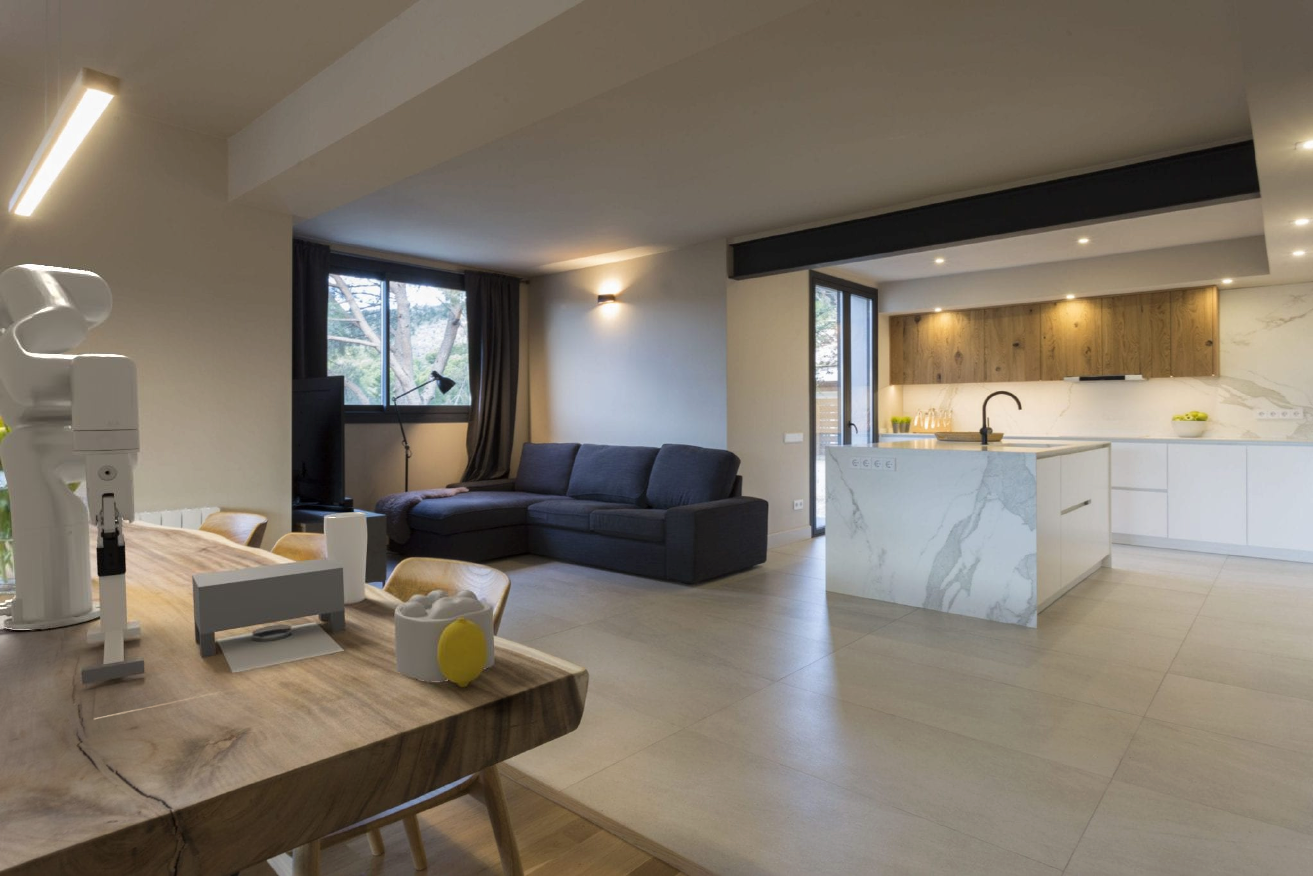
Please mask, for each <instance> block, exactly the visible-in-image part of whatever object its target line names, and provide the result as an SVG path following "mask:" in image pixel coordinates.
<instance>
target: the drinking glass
mask: <svg viewBox="0 0 1313 876" xmlns="http://www.w3.org/2000/svg"><path fill="white" fill-rule="evenodd" d="M367 523H368V522H367V514H366V512H361V511H359V512H357V511H355V512H340V513H333V514H327V515H324V516H323V534H324V536H323V537H324V546H325V547H324V548H325V554H326V555H325V556H326V558H328V559H330V560H331V561H333V562H335V563H336V564H338V565H340V566H341V567H343V583H344V605H351V604H358V603H360V602H362V601H364V600H365V599H366V568H367V567H366V566H367V552H368V551H367V548H368V546H367V545H368V524H367Z"/></svg>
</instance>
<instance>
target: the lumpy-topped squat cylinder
mask: <svg viewBox="0 0 1313 876" xmlns="http://www.w3.org/2000/svg"><path fill="white" fill-rule="evenodd" d="M393 616H394V617H393V618H394V638H395V639H394V641H395V645H394V646H395V670H396V671H397V673H399V672H400V673H399V674H401V673H402V674H401V675H403V674H404V675H403V676H405V675H406V676H405V677H407V676H409V677H408V678H410V677H412V678H411V679H413V678H416V679H420V680H424V681H445V680H447V678H446V677H445V676H444V675H443V674H442V672H441V670H440V668H439V665H438V659H437V649H438V643H439V639H440V637H441V634H442V632H443V631H444V630H445V628H446V627H447V626H449V625H450V624H451V623H453V622H455V621H457V620H458V618H465V619H466V620H468V621H471V622H473V623H475V624H476V625H478V626H479V627H480V628H481V630H482V631H483V633H484V636H485V640H486V644H487V661H486V664H485V667H484V668H487V667H490V666H491V665H493V664H494V662H495V659H496V658H495V637H494V635H495V634H494V629H495V628H494V609H493V606H492V605H491V604H490V603H488V602H486V601H482V600H479V599H478V596H477V594H475V593H474V592H473V591H472V590H471V589H464V590H461V591H459V592H458V593H456V594H454V596H449V594H448V593H447V592H445V591H444V590H443V589H442V590H441V589H435V590H432V591H430V592H429V593H428V594H427V595H423V594H420V593H419V594H417V593H416V594H414V595H412V596H411V597H410V598H409V599H408V601H405V602H403V603H400V604H399V605H397V607H395V610H394V615H393ZM494 665H495V664H494ZM494 665H493V666H494ZM490 668H491V667H490ZM416 679H415V680H416Z"/></svg>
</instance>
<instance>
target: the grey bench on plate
mask: <svg viewBox="0 0 1313 876" xmlns="http://www.w3.org/2000/svg"><path fill="white" fill-rule="evenodd" d="M192 597H193V598H192V600H193V602H192V603H193V619H194V621H193V622H194V640H195V643H199V649H200V651H199V652H200V656H201V658H206V657H211V656H216V634H215V633H217V632H223V631H224V632H225V631H228V630H234V629H236V630H237V629H241V628H247V627H253V626H259V625H264V624H271V623H276V622H283V621H289V620H293V619H294V620H295V619H300V618H306V617H311V616H318V620H319V621H321V622H323V621H329V620H330V629H331V632H332V634H335V633H336V634H337V633H340V632H346V614H345V613H346V612H345V604H344V583H343V567H341V566H340V565H338V564H336V563H335V562H333V561H331V560H330V559H328V558H327V557H325V558H317V559H308V560H300V561H295V562H294V561H292V562H286V563H278V564H277V563H276V564H269V565H262V566H261V565H260V566H254V567H247V568H237V569H230V570H222V571H214V572H206V573H198V574H192Z"/></svg>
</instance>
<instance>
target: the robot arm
mask: <svg viewBox="0 0 1313 876" xmlns="http://www.w3.org/2000/svg"><path fill="white" fill-rule="evenodd" d="M111 291H112V290H111V288H110V287H109V284H108V283H107V282H106V280H104V279H103V278H102V276H100V275H99V274H96V273H94V272H91V271H88V270H86V271H85V270H81V269H80V270H78V269H71V268H70V269H69V268H63V267H56V266H55V267H54V266H45V265H38V264H21V265H15V266H12V267H10V268H8V269H7V268H6V270H4V271H3V272H2V273H1V274H0V418H1V420H2V422H3V423H4V424H5V425H6V427H8V428H10V429H11V431H9V432H8V433H6V435H4V436H3V438H2V440H1V441H0V462H1V465H2V470H3V473H4V478H5V481H6V486H7V491H8V499H9V505H10V506H9V507H10V517H11V518H10V520H11V534H12V552H13V555H12V556H13V569H14V570H13V571H14V572H13V573H14V588H15V589H14V591H15V594H14V596H13V597H12V599H6V600H5V601H4V602H1V603H0V617H1V616H6V617H7V618H6V619H4V620H3V627H4V626H5V627H7V628H12V629H41V630H47V629H48V630H49V628H50V629H55V628H61V627H62V628H63V627H67V626H72V625H77V624H81V623H84V622H88V621H92V620H94V619H97V618H100V603H93V583H92V567H91V566H92V564H91V563H92V562H91V545H90V543H91V542H90V525H89V524H90V523H91V525H93V526H95V527H97V529H96V530H97V537H98V548H97V547H96V549H95V550H96V570H97V571H96V572H97V573H96V574H97V576H98V578H99V577H103V576H112V575H121V574H125V575H126V572H127V562H126V561H127V559H126V558H127V557H126V541H125V540H124V545H123V536H122V534H123V525H124V524H123V521H128V524H129V525H130V524H132V523H134V522H135V519H136V518H135V516H136V515H135V486H134V470H135V469H136V467H137V465H138V458H139V457H138V456H139V455H138V454H139V453H140V452H141V445H140V443H141V441H140V424H139V421H140V420H139V419H140V418H139V392H138V391H139V389H138V368H137V364H136V362H135V360H134V359H132V357H129V356H126V355H120V354H105V353H104V354H103V353H102V354H101V353H99V354H98V353H95V354H94V353H91V354H90V353H85V354H79V355H78V354H64V353H66V352H67V353H68V352H69V351H72V350H74V349H76V348H77V347H79V346H80V345H81V344H82V343H83V342H84V341H85V339H86V337H87V336H88V333H89V331H90V330H91V329H94V328H95V327H97V326H100V325H101V324H102V323H103V322H105V321H106V320H107V319H108V318H109V317H110V315H111V312H112V310H113V293H112V292H111ZM82 482H85V487H86V489H85V490H86V501H87V505H86V503H84V500H82V499H81V498H80V497H79V495H77V494H75V493H74V492H73V491H71V489H70V488H69V487H68V485H69V484H74V483H75V484H76V483H82ZM87 507H88V508H87ZM89 518H90V520H89ZM89 521H90V522H89Z"/></svg>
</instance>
